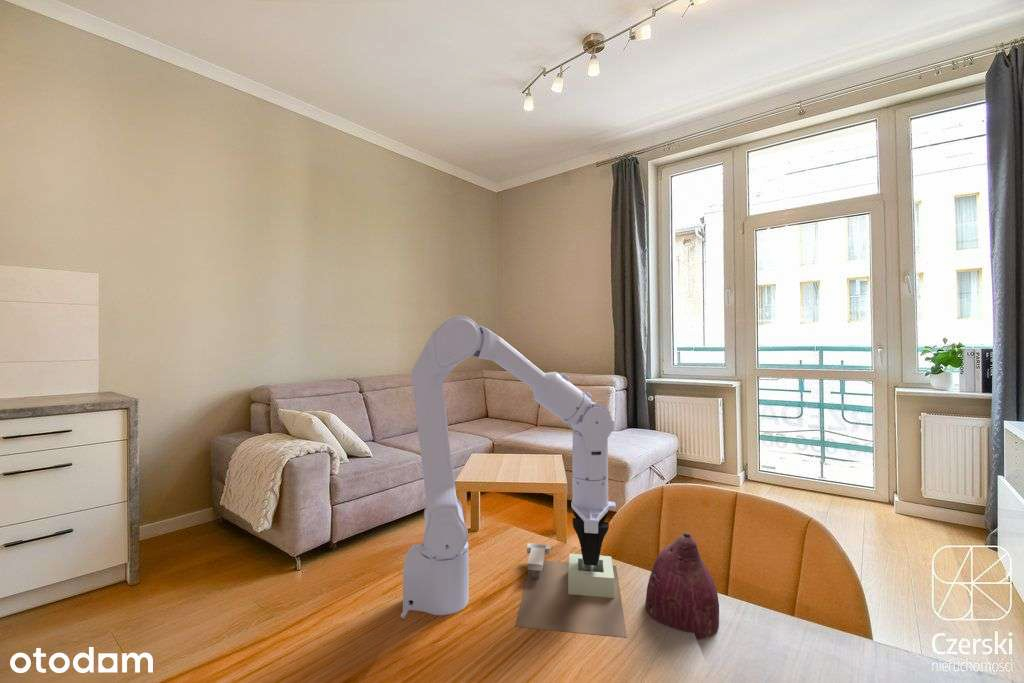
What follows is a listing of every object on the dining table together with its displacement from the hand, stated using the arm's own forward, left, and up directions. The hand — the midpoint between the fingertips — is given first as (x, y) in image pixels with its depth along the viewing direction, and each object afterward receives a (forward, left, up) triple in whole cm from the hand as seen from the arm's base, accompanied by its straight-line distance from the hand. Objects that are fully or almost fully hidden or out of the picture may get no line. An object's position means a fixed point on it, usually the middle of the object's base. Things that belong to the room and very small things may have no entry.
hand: (590, 559), depth 71 cm
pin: (0, 0, -3) cm, 3 cm away
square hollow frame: (0, 0, -5) cm, 5 cm away
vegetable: (+13, -5, -5) cm, 15 cm away
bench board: (-3, -3, -5) cm, 6 cm away
